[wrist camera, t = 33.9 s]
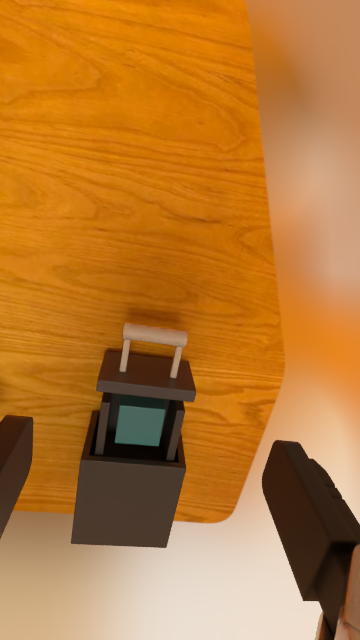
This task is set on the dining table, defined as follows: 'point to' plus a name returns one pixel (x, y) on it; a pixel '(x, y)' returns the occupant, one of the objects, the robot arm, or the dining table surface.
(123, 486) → the cabinet
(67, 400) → the dining table surface
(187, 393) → the drawer
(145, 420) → the block
